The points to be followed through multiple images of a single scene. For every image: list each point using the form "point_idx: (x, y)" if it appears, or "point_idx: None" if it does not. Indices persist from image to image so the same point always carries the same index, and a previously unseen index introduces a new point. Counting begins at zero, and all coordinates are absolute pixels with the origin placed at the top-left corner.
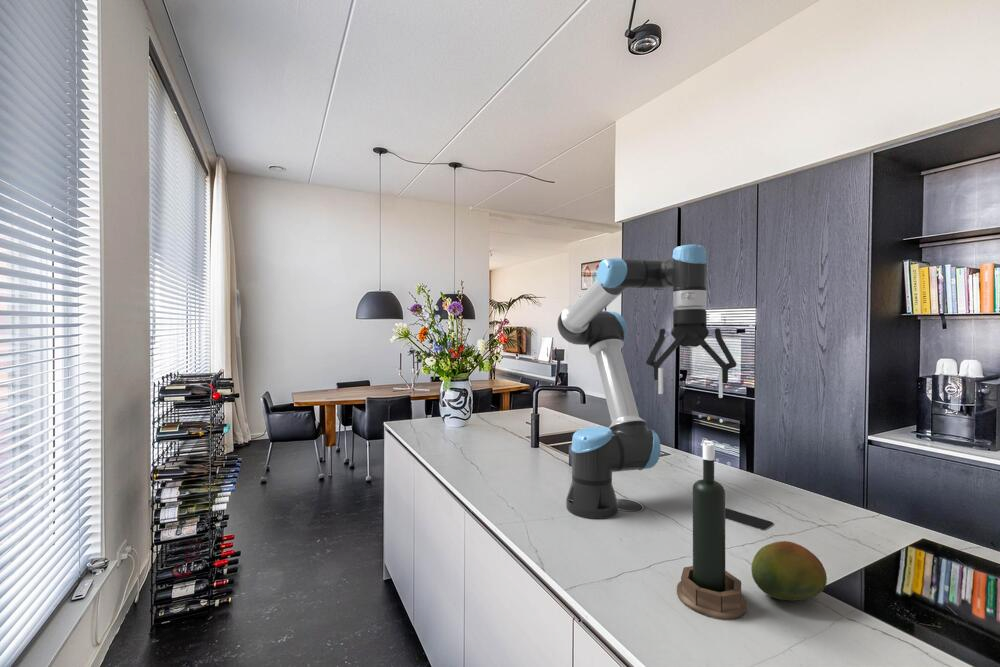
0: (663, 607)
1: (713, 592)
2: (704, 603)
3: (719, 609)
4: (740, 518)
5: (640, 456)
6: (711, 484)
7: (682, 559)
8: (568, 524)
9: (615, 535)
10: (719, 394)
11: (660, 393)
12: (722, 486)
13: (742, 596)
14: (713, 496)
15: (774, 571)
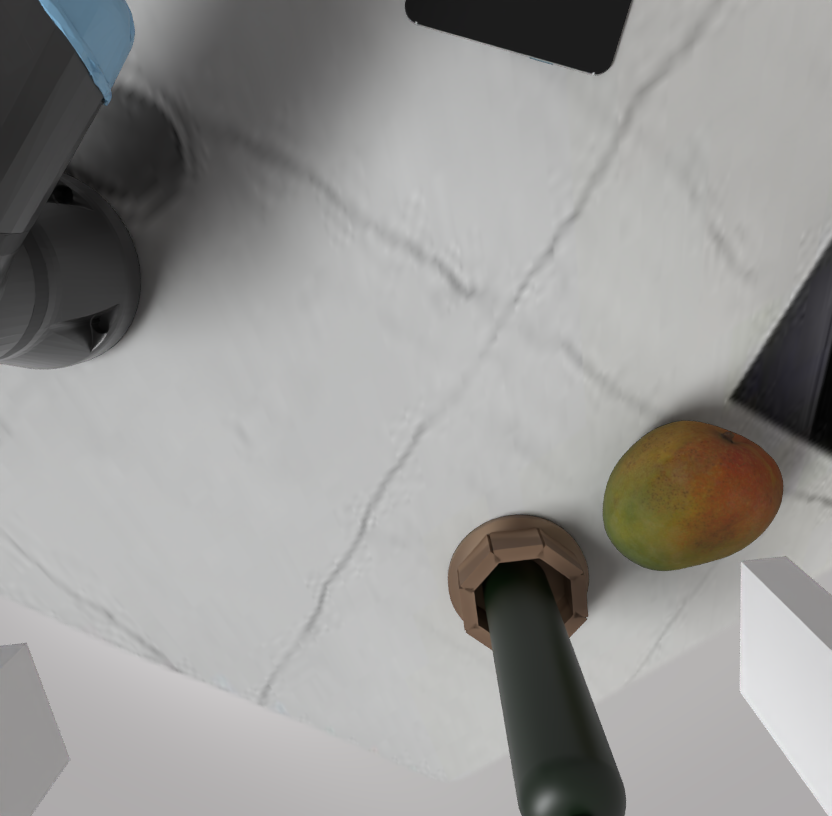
0: (442, 654)
1: None
2: None
3: None
4: (523, 5)
5: (62, 144)
6: None
7: (421, 446)
8: (70, 436)
9: (218, 420)
10: (773, 723)
11: (53, 766)
12: (622, 810)
13: (577, 552)
14: None
15: (666, 570)
